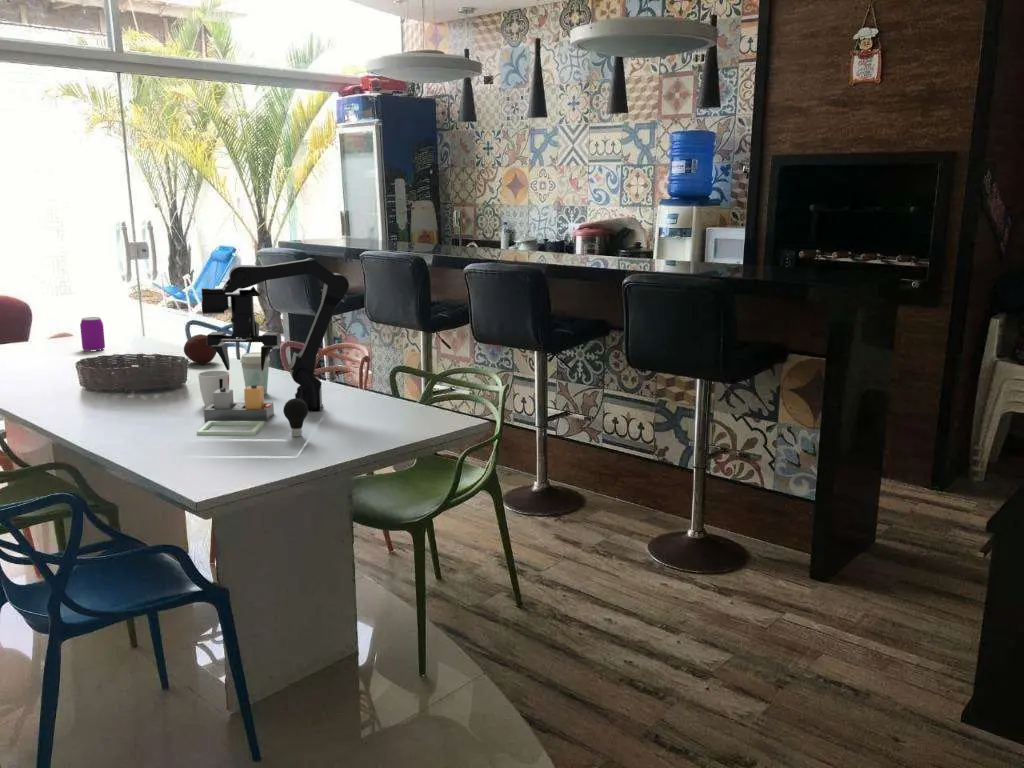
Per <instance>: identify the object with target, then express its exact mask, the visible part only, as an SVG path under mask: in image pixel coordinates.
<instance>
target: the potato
mask: <svg viewBox="0 0 1024 768" xmlns="http://www.w3.org/2000/svg"><path fill="white" fill-rule="evenodd" d="M207 335H208V334H197V335H193V336H191V337H190V338H189V339H188V340H187V341H186V342H185V343H184V346H183V353H184V355H185V356H186V357H187V358H188V359H189V360H191V361H192V362H193V363H196V364H200V365H206V364H209V363H211V362H212V360H213V359H215V356H217V354H218V353H217V351H216V350H215V349H214V348H211V346H212V345H206V336H207Z"/></svg>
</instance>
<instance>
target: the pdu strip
mask: <svg viewBox="0 0 1024 768" xmlns="http://www.w3.org/2000/svg"><path fill="white" fill-rule="evenodd" d="M233 402H234V401H233ZM274 411H275V410H274V402H264V408H263V409H245V401H244V402H242V401H241V402H237V401H236V402H234V407H233V408H232V409H214V402H213V403H211V404H210V405H209V406H208V407H206V406H205V408H204V409H203V415H204V416H203V417H204V418H203V419H204V420H203V421H204V422H208V421H264V422H268V421H269V420H270V419H271V418H272V417H273V415H274V414H275V413H274Z"/></svg>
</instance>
